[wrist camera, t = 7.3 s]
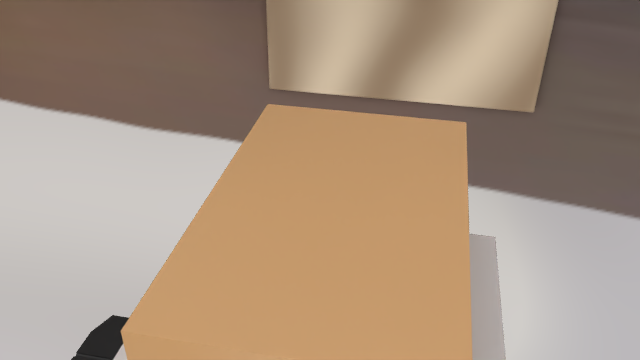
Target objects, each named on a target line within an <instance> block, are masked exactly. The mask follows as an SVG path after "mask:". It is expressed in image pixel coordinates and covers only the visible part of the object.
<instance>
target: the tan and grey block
mask: <svg viewBox="0 0 640 360" xmlns="http://www.w3.org/2000/svg"><path fill="white" fill-rule="evenodd" d="M468 212H469V210H468V172H467V134H466V122H456V121H446V120H435V119H424V118H413V117H403V116H392V115H381V114H370V113H359V112H349V111H338V110H327V109H316V108H306V107H295V106H284V105H273V104H268V105H267V106H266V108H265V109H264V111H263V112H262V114H261V115H260V117H259V118H258V120H257V122H256V123H255V125H254V126H253V128H252V129H251V131H250V132H249V134H248V135H247V137H246V139H245V140H244V142H243V143H242V145H241V146H240V148H239V149H238V151H237V152H236V154H235V155H234V157H233V159H232V160H231V162H230V163H229V165H228V166H227V168H226V169H225V171H224V173H223V174H222V176H221V177H220V179H219V180H218V182H217V183H216V185H215V186H214V188H213V190H212V191H211V193H210V194H209V196H208V197H207V199H206V200H205V202H204V203H203V205H202V206H201V208H200V209H199V211H198V213H197V214H196V216H195V217H194V219H193V220H192V222H191V223H190V225H189V226H188V228H187V230H186V231H185V233H184V234H183V236H182V237H181V239H180V240H179V242H178V243H177V245H176V246H175V248H174V250H173V251H172V253H171V254H170V256H169V257H168V259H167V260H166V262H165V264H164V265H163V267H162V268H161V270H160V271H159V273H158V274H157V276H156V277H155V279H154V280H153V282H152V283H151V285H150V287H149V288H148V290H147V291H146V293H145V294H144V296H143V297H142V299H141V300H140V302H139V304H138V305H137V307H136V308H135V310H134V311H133V313H132V314H131V316H130V317H129V319H128V320H127V322H126V324H125V325H124V327H123V328H122V330H121V335H122V339H123V343H124V347H125V352H126V356H127V360H472V323H471V285H470V247H469V213H468Z"/></svg>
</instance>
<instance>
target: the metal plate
mask: <svg viewBox="0 0 640 360" xmlns="http://www.w3.org/2000/svg"><path fill="white" fill-rule="evenodd" d="M557 4H558V0H266V9H267V36H268V62H269V89H278V90H289V91H301V92H312V93H323V94H334V95H345V96H356V97H368V98H379V99H390V100H401V101H412V102H424V103H435V104H446V105H457V106H468V107H480V108H491V109H502V110H513V111H524V112H534V109H535V104H536V99H537V95H538V90H539V86H540V81H541V77H542V72H543V68H544V63H545V59H546V54H547V50H548V45H549V41H550V36H551V32H552V27H553V22H554V18H555V13H556V9H557Z"/></svg>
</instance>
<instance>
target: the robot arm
mask: <svg viewBox="0 0 640 360" xmlns="http://www.w3.org/2000/svg"><path fill="white" fill-rule="evenodd" d="M469 247H470V285H471V323H472V360H506V358H505V346H504V335H503V323H502V311H501V300H500V288H499V276H498V265H497V253H496V241H495V237H491V236H483V235H475V234H469ZM128 319H129V318H126V317H120V316H114V315H112V316H111V317H110V318H109V319H107V320H106V321H105V322H104V323H102V324H101V325H100V326H98V327H97V328H95V329H94V330H93V331H91V333H90V334H89V336H88V337H87V338H86V340H85V341H84V343H83V344H82V345H81V347H80V348H79V350H78V351H77V354H76V356H75V357H73V358H72V359H71V360H127V356H126V352H125V347H124V343H123V339H122V335H121V330H122V328H123V327H124V325H125V324H126V322H127V320H128Z"/></svg>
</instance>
